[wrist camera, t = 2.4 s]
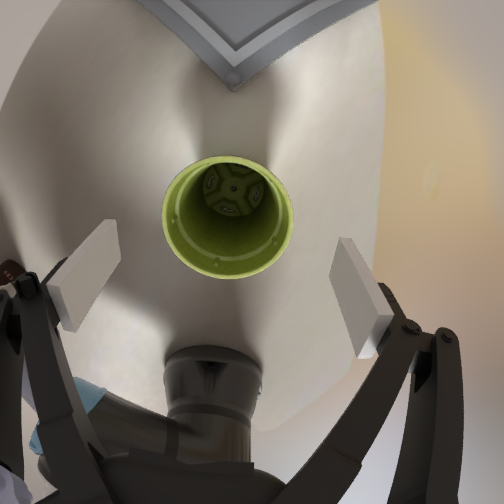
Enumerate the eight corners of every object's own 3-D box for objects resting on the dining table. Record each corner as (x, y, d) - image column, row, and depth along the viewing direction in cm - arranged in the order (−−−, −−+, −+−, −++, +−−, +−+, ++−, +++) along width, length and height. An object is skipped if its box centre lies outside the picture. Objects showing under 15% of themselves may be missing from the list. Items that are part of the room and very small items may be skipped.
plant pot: (178, 219, 29) (155, 264, 22) (195, 129, 25) (171, 143, 17) (266, 239, 30) (271, 289, 23) (293, 153, 26) (311, 176, 18)
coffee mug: (-7, 250, 31) (-45, 286, 22) (27, 256, 31) (-13, 299, 23) (13, 308, 36) (-14, 346, 28) (47, 318, 37) (20, 362, 28)
